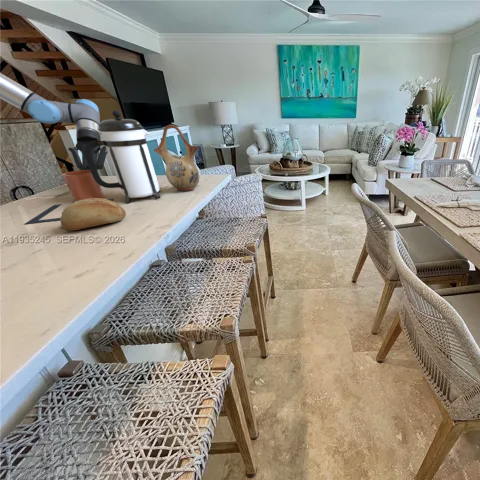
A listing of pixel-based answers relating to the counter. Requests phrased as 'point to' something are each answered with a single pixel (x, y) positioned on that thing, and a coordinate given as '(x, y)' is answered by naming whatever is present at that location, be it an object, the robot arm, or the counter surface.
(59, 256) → the counter surface
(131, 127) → the coffee press
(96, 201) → the bread roll
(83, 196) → the terracotta flower pot
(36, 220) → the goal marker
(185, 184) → the ceramic vessel
